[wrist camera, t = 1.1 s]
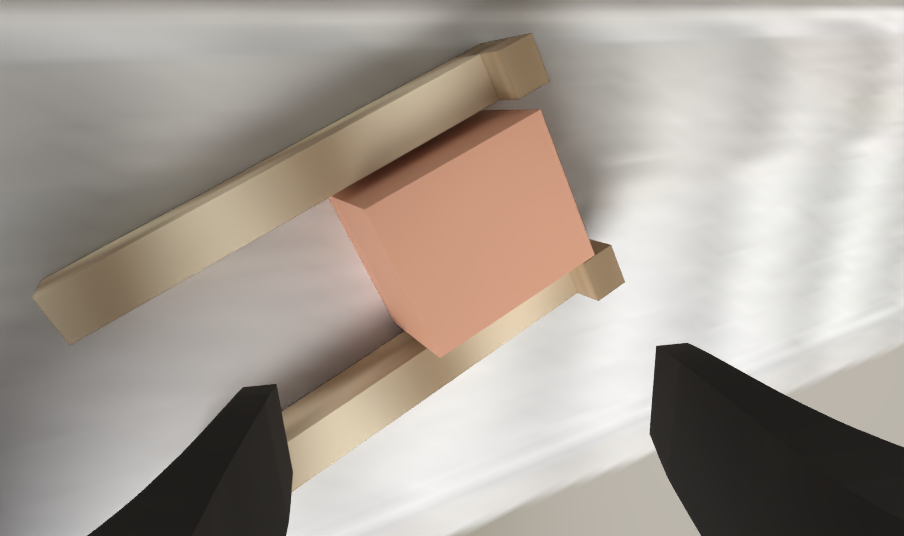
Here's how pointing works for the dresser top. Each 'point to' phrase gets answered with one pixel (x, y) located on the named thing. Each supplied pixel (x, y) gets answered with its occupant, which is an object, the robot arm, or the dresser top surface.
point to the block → (466, 226)
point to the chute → (298, 189)
